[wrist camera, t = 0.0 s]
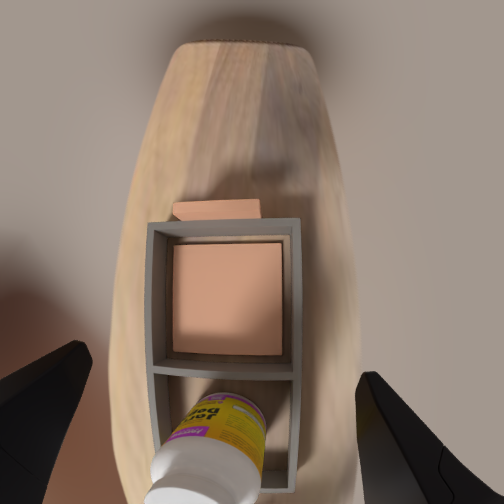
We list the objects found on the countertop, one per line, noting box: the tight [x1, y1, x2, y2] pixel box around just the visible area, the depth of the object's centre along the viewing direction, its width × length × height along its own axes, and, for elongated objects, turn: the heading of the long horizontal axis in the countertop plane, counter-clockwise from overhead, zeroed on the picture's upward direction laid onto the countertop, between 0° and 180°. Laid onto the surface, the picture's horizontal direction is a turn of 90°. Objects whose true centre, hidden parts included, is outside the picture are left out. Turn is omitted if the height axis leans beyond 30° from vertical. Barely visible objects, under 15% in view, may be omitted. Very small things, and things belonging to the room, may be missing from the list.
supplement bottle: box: [144, 393, 266, 504], centre depth 15 cm, size 7×7×13 cm
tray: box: [144, 199, 302, 493], centre depth 20 cm, size 24×12×5 cm, turn 0°
